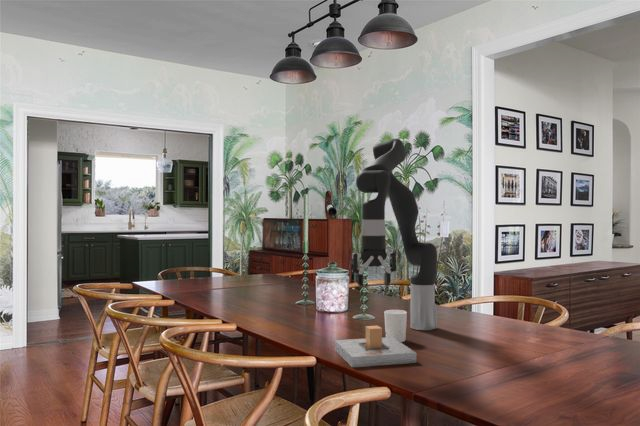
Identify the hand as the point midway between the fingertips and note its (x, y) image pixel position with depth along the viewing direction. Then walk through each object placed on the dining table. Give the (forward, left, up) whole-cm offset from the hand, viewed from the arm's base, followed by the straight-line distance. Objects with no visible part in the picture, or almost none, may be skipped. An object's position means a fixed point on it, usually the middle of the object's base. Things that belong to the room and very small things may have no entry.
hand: (373, 285), depth 159 cm
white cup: (-14, -17, -22) cm, 31 cm away
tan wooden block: (0, 0, -22) cm, 22 cm away
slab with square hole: (0, 0, -22) cm, 22 cm away
